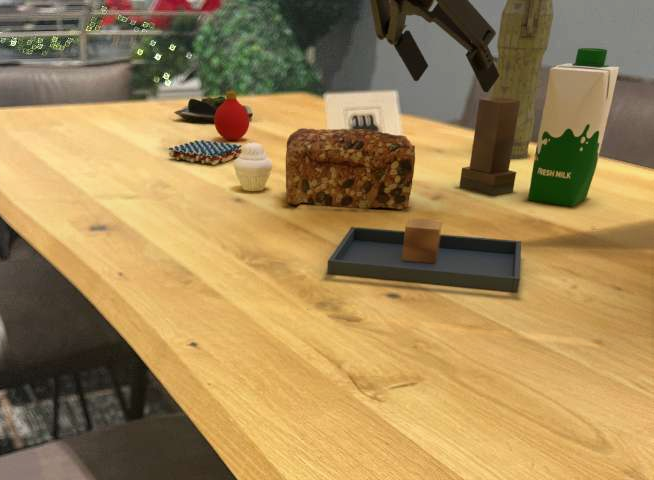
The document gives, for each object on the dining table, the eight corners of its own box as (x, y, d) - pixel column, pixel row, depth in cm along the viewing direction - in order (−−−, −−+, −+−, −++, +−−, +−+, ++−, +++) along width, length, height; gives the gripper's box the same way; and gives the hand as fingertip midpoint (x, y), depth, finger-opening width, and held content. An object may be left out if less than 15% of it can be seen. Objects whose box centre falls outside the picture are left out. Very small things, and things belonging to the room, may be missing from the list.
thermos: (517, 147, 151) (556, -72, 131) (536, 160, 142) (580, -75, 122) (473, 147, 151) (505, -73, 131) (489, 160, 142) (526, -76, 121)
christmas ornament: (218, 144, 152) (216, 87, 146) (212, 137, 158) (210, 82, 152) (252, 142, 153) (252, 86, 148) (245, 136, 159) (245, 82, 153)
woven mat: (215, 166, 135) (214, 154, 134) (167, 159, 140) (166, 147, 138) (246, 156, 143) (246, 144, 141) (199, 150, 147) (199, 138, 146)
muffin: (227, 190, 121) (225, 142, 117) (245, 182, 125) (244, 136, 121) (262, 195, 119) (262, 146, 115) (279, 187, 123) (279, 140, 119)
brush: (513, 191, 122) (529, 101, 115) (491, 196, 120) (507, 103, 112) (480, 183, 127) (493, 95, 119) (459, 187, 124) (471, 98, 117)
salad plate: (179, 110, 186) (178, 88, 183) (252, 110, 187) (252, 89, 184) (172, 123, 170) (171, 100, 168) (252, 124, 171) (252, 101, 168)
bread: (283, 208, 113) (284, 134, 107) (290, 190, 122) (291, 121, 116) (410, 212, 111) (418, 138, 106) (408, 194, 120) (415, 124, 114)
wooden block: (438, 253, 94) (442, 220, 91) (435, 263, 91) (439, 229, 88) (406, 250, 95) (409, 217, 92) (401, 260, 91) (405, 226, 89)
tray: (518, 258, 95) (521, 241, 93) (516, 297, 83) (519, 278, 82) (350, 243, 99) (351, 226, 98) (327, 278, 88) (327, 260, 87)
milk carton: (593, 197, 120) (628, 50, 108) (576, 209, 114) (611, 54, 102) (539, 189, 124) (567, 46, 112) (519, 200, 118) (546, 50, 106)
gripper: (306, -29, 101) (380, 90, 117) (442, -25, 85) (507, 112, 101) (339, -78, 101) (409, 48, 117) (483, -83, 84) (541, 64, 100)
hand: (455, 78), depth 109 cm, fingers open, 13 cm apart
